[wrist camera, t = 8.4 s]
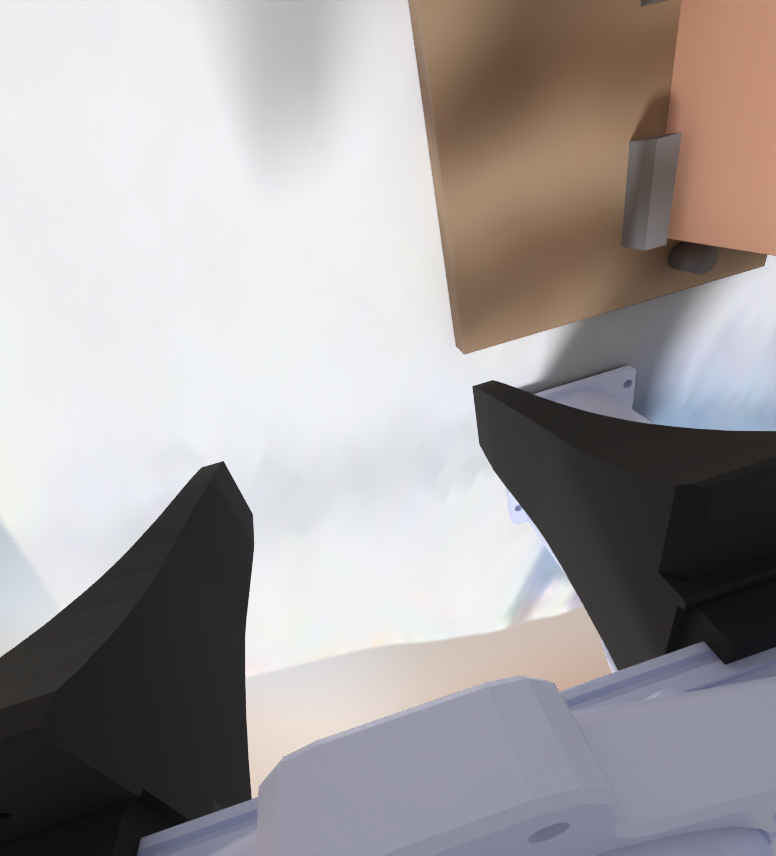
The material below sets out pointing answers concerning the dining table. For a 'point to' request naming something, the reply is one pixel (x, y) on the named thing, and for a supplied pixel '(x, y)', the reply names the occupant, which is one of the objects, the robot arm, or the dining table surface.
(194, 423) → the dining table surface
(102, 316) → the dining table surface
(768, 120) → the door panel
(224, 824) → the robot arm
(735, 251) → the cabinet side board
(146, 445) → the dining table surface
